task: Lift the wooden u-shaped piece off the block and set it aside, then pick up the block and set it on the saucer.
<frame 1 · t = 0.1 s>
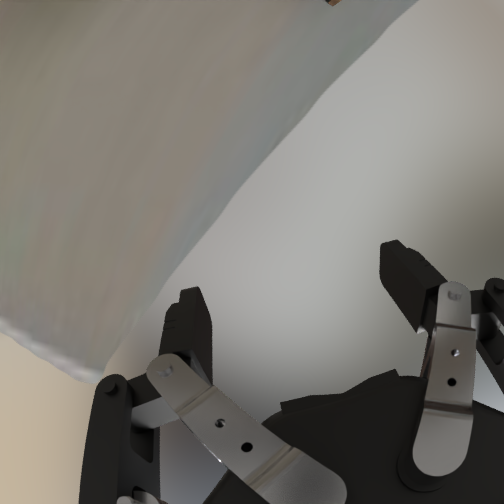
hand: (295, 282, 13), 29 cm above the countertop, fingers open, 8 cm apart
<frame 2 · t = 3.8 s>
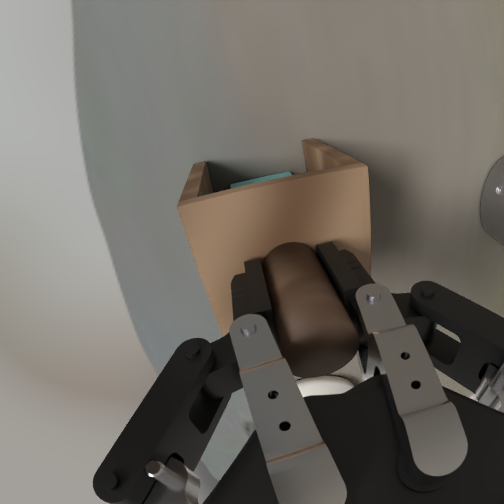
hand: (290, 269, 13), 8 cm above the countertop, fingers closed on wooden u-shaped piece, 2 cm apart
wooden u-shaped piece: (265, 205, 20), on the countertop, touching gripper
saucer: (306, 406, 34), on the countertop
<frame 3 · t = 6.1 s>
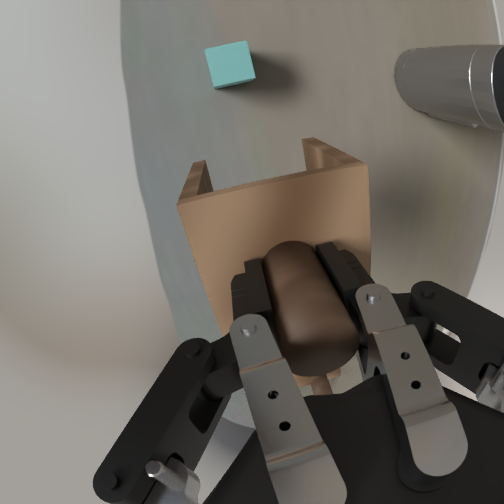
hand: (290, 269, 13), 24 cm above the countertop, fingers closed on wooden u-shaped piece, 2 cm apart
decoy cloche: (303, 332, 49), on the countertop
wooden u-shaped piece: (265, 204, 20), point 16 cm above the countertop, touching gripper
block: (228, 69, 29), on the countertop
when the fingers open (9 cm above the countertop, at t = 8.7 s): wooden u-shaped piece stays where it is, on the countertop.
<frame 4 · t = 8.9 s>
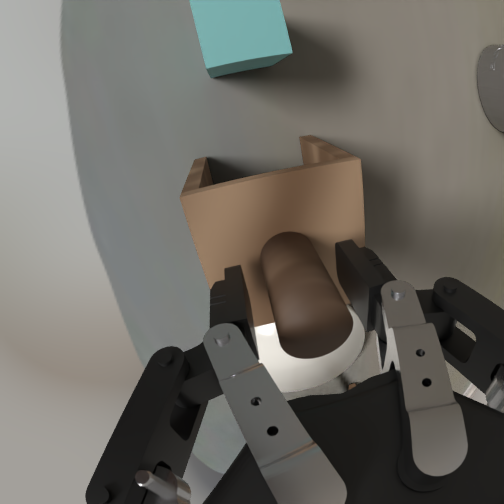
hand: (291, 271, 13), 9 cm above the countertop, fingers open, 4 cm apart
wooden u-shaped piece: (264, 200, 21), on the countertop
block: (234, 44, 16), on the countertop
saucer: (300, 346, 29), on the countertop
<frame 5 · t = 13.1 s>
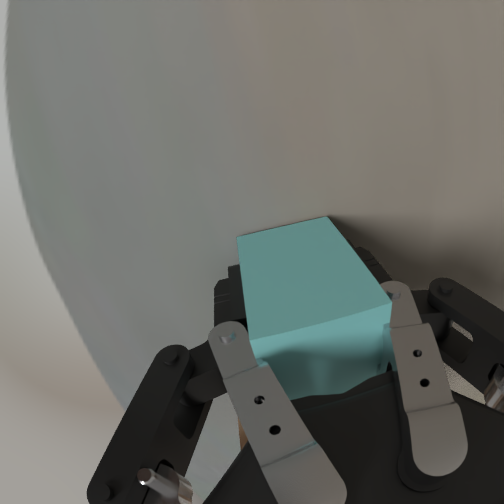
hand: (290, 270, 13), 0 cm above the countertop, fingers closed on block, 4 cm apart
block: (289, 265, 14), on the countertop, touching gripper
when the fingers open (3 cm above the countertop, at t = 20.3 s): block drops 1 cm, resting on saucer.
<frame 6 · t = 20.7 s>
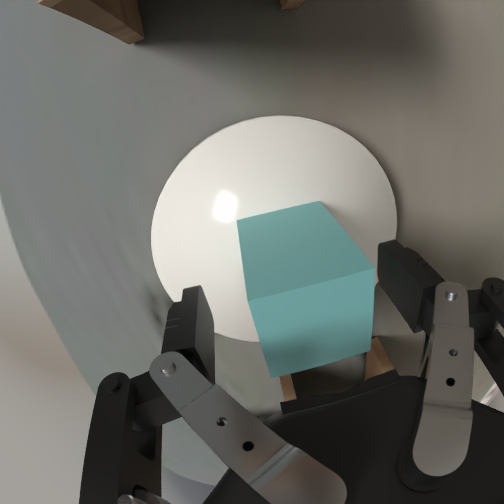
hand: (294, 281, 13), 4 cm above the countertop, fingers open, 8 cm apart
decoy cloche: (329, 380, 23), on the countertop
block: (285, 246, 15), point 1 cm above the countertop, touching saucer
saucer: (278, 239, 16), on the countertop
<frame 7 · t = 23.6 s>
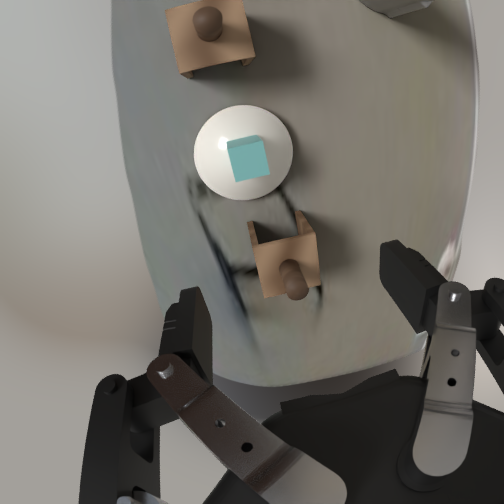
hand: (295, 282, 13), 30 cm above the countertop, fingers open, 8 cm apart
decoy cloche: (278, 239, 46), on the countertop
wooden u-shaped piece: (211, 44, 31), on the countertop
block: (244, 152, 38), point 1 cm above the countertop, touching saucer
saucer: (243, 152, 39), on the countertop
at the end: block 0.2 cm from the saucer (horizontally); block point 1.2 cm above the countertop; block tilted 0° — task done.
